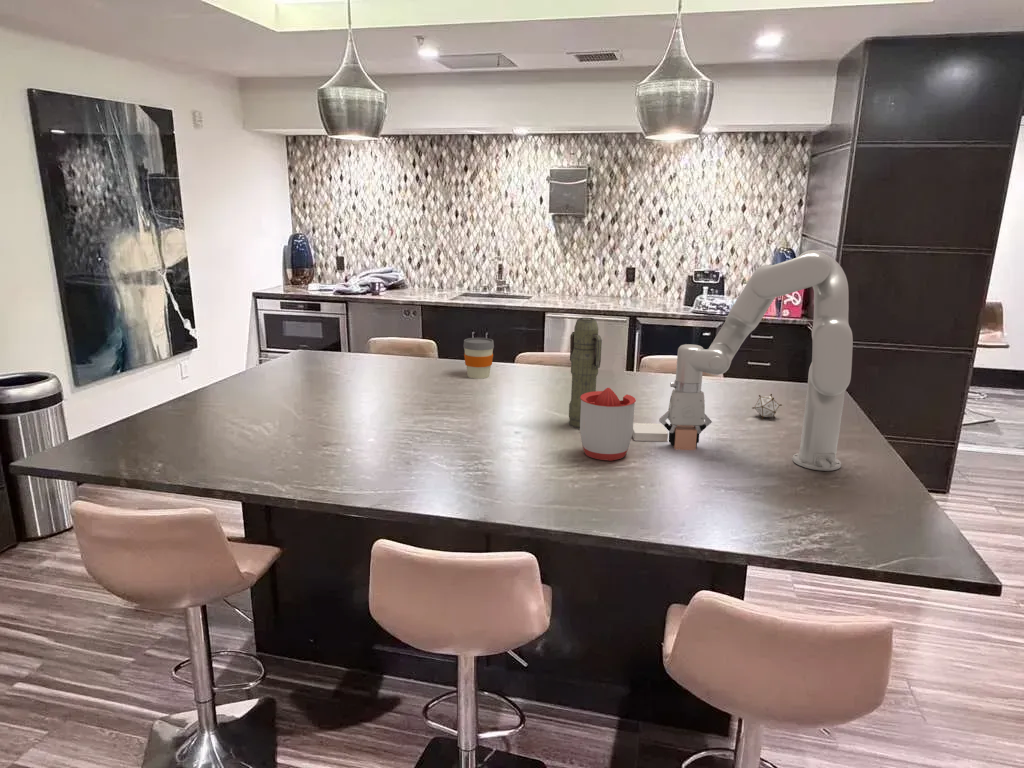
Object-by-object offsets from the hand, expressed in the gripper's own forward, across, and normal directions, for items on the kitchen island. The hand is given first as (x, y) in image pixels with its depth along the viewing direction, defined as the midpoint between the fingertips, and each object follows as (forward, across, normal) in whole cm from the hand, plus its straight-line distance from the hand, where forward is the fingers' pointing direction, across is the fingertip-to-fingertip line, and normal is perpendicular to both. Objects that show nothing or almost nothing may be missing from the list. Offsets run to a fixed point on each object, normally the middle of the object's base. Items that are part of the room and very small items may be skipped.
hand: (683, 444), depth 213 cm
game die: (+1, +35, +32) cm, 47 cm away
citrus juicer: (+1, -24, -8) cm, 25 cm away
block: (+1, -9, +9) cm, 13 cm away
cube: (+1, 0, 0) cm, 1 cm away
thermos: (+1, -29, +19) cm, 35 cm away
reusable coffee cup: (+1, -67, +82) cm, 106 cm away
